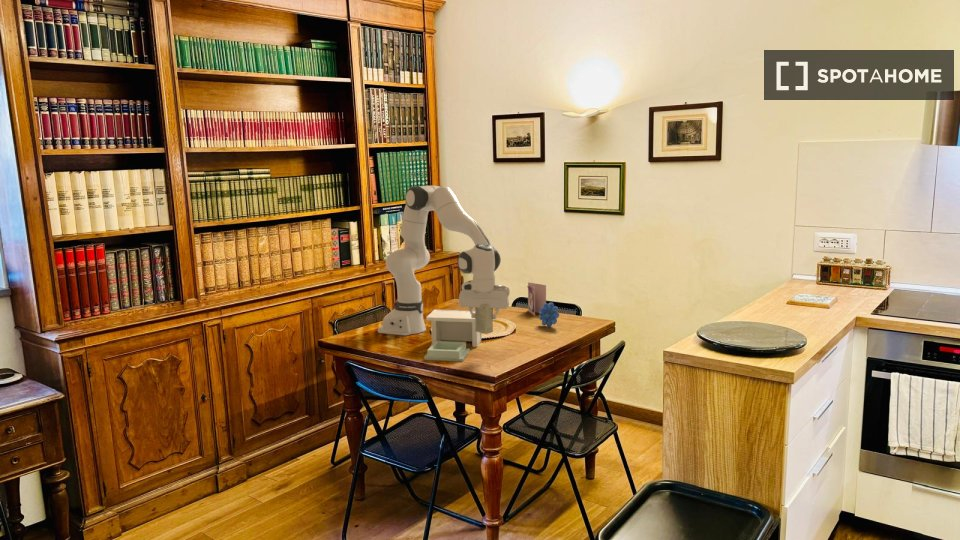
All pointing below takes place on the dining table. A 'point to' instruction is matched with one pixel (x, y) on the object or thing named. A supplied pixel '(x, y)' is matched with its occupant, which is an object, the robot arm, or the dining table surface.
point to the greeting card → (536, 297)
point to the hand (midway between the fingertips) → (483, 318)
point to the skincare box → (484, 319)
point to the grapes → (548, 314)
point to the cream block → (453, 326)
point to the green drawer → (447, 351)
